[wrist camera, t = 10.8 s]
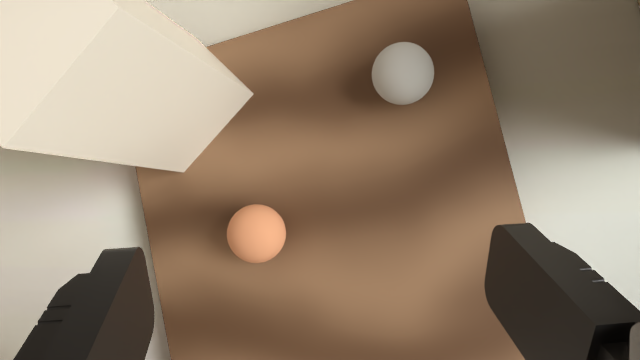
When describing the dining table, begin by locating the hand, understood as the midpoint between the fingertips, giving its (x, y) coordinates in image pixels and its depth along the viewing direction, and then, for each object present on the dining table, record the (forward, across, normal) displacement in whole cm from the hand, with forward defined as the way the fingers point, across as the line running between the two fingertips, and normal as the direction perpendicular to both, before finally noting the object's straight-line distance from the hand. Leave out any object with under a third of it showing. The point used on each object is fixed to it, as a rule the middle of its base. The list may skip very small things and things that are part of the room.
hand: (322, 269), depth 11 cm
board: (+15, -2, +6) cm, 16 cm away
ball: (+14, +2, +7) cm, 15 cm away
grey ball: (+15, -6, -1) cm, 16 cm away
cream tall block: (+18, +6, +1) cm, 19 cm away
